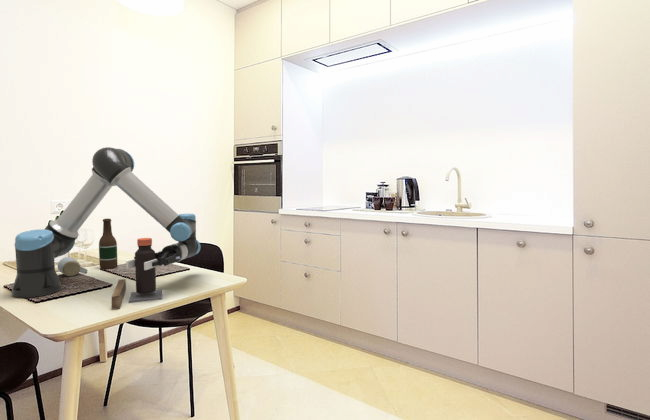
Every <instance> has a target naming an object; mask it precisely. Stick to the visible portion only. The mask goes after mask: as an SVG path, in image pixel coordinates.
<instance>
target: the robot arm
mask: <svg viewBox="0 0 650 420" xmlns="http://www.w3.org/2000/svg"><path fill="white" fill-rule="evenodd" d="M91 160H92V162H91V163H92V167H91V173H92V174H91V176H90V177H89V179H88V180H86V182H85V184H84V185H83V186H82V188H80V190H79V191H78V193H77V194H76V195H75V196H74V198H72V200H71V202H70V203H69V204H68V205H67V207H66V208H65V209H64V210H63V212H62V213H61V214H60V215H59V216H58V218H57V219H54V220H51V221H50V222H49V223H47V225H46V226H45V228H44V229H43V228H42V229H32V230H26V231H22V232H20V233H18V234H16V236H15V239H14V249H15V250H14V251H15V264H16V265H15V266H16V277H15V280H14V282H13V285H12V288H11V295H12V297H14V298H22V299H23V298H24V299H25V298H37V297H36V296H38V297H43V295H44V296H47V294H48V295H51V293H52V294H55V293H57V292H59V291H60V290H62V283H61V281H60V278H59V276H58V273H57V271H56V267H55V266H56V265H55V259H56V258H58V257H62V256H64V255H66V254H68V253H69V252H70V251H71V250H72V249H73V248H74V246H75V245H76V240H77V239H78V237H79V236H80V235H79V230H80V229H81V227H82V226H83V224H84V223H85V222H86V220H87V219H88V218H89V216H91V214H92V213H93V212H94V210H95V209H97V206H99V204H100V202H102V200H103V199H104V198H105V196H106V195H107V194H108V193H109V192H110V190H111V189H112V187H118V188H119V189H120V191H122V192H123V193H124V194H126V195H127V197H129V198H130V199H131V200H132V201H133V202H135V203H136V204H137V205H138V206H139V207H140V208H141V209H143V211H145V212H146V213H147V215H150V216H151V217H152V218H153V219H154V220H155V221H156V222H157V223H158V224H159V225H161V226H162V228H164V229H165V230H166V231H167V232H168V233H169V234H170V238H171V239H173V240H174V241H176V243H172V244H170V245H166V246H164V247H163V248H162V250H159V251H158V252H155V259H154V260H151V261H148V262H145V263H144V270H148V269H151V268H154V267H155V268H157V267H158V266H159V267H161V266H164V267H167V266H169V265H171V264H175V263H179V262H180V261H183V260H185V259H188V258H191V257H195V255H197V254H199V252H200V251H201V243H200V241H199V240H198V239H197V220H196V219H197V218H196V217H197V216H196V214H194V213H179V214H178V213H177V212H176V211H175V210H174V209H172V208H171V207H170V206H169V205H168V204H167V203H166V202H165V201H164V200H163V199H162V198H160V197H159V196H158V195H157V193H155V192H154V191H153V190H152V189H151V188H150V187H148V186H147V185H146V183H144V182H143V181H142V180H141V179H140V178H139V177H138V176H136V174H134V173H133V170H134V168H135V160H134V158H133V156H132V155H131V154H130V153H129V152H128V151H126V150H124V149H121V148H114V147H110V146H109V147H108V146H107V147H102V148H100V149H98V150H96V151H95V152H94V154H93V156H92V159H91ZM125 264H126V267H125V268H126V269H128V270H129V269H132V268H135V256H134V257H133V259H130V260H126V262H125ZM54 292H55V293H54Z"/></svg>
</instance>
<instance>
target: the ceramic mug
mask: <svg viewBox="0 0 650 420" xmlns="http://www.w3.org/2000/svg"><path fill="white" fill-rule="evenodd" d="M57 270H58V271H59V273H61V274H63V275H64V276H66V277H74V276H76V275H77V274H79V273H82V274H86V273H87V272H88V269H87V268H85V267H82V266H81V264H80V262H79V261H77V260H76V259H75V258H74V257H70V256H66V257H63V258H61V259H60V260H59V261H58V263H57Z"/></svg>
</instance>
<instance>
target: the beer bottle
mask: <svg viewBox="0 0 650 420" xmlns="http://www.w3.org/2000/svg"><path fill="white" fill-rule="evenodd" d="M102 222H103V225H102V226H103V227H102V235H101V237H100V238H99V241H98V259H99V268H100V269H101V270H111V269H116V268H118V243H117V239H116V238H115V236H114V235H113V232H112V231H113V230H112V219H111V218H103V219H102Z"/></svg>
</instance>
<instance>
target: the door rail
mask: <svg viewBox="0 0 650 420" xmlns="http://www.w3.org/2000/svg"><path fill="white" fill-rule="evenodd" d="M126 291H127V279H126V278H125V279H124V278H123V279H118V281H117V283H116V285H115V288H114V289H113V292H112V294H111V310H118V309H119V310H120V309H121V307H122V306H121V305H122V304H123V300H124V297H125V294H126V293H127V292H126Z"/></svg>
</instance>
